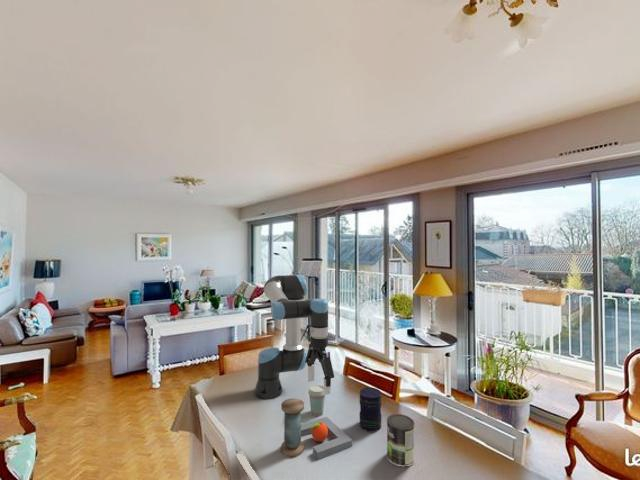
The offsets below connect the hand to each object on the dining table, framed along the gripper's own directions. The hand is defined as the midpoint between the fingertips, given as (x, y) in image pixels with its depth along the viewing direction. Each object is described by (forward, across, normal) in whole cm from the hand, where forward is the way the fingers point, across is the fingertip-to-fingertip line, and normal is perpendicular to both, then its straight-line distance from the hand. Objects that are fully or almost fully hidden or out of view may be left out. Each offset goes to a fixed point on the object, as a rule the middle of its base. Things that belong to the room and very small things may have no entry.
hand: (318, 387), depth 131 cm
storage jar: (+22, +2, +26) cm, 34 cm away
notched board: (+22, 0, +2) cm, 22 cm away
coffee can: (+22, +25, +22) cm, 40 cm away
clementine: (+22, 0, 0) cm, 22 cm away
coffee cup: (+22, -19, +10) cm, 31 cm away
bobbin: (+22, 0, -12) cm, 25 cm away
